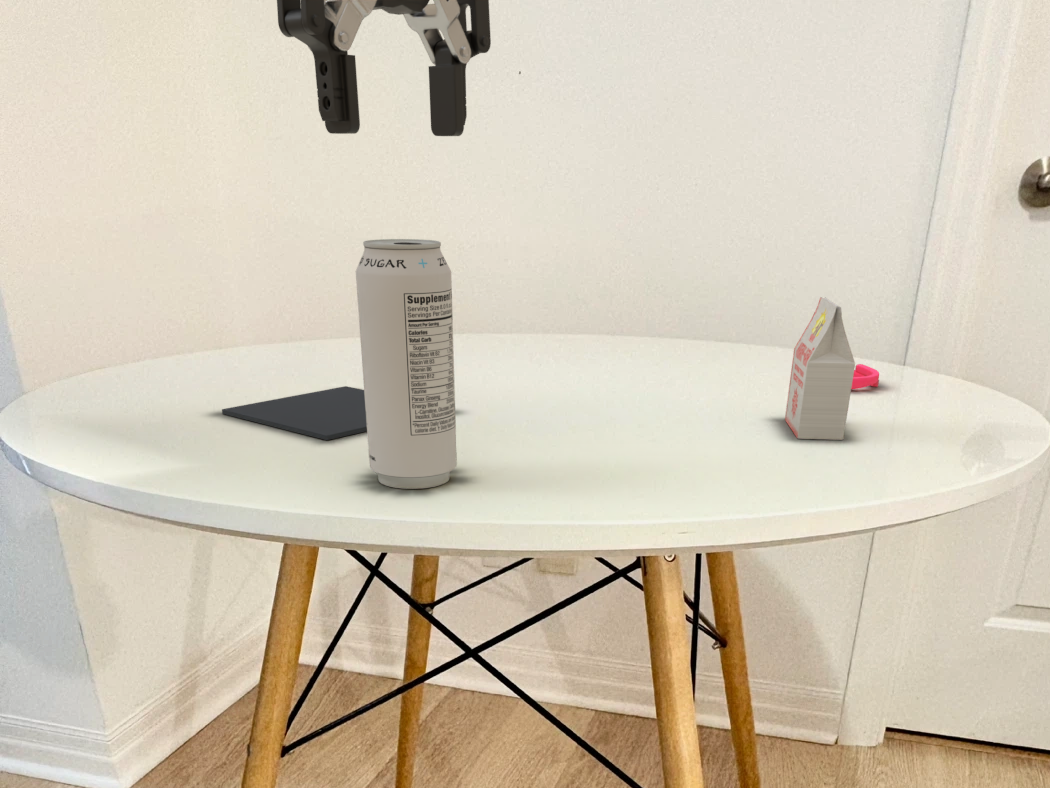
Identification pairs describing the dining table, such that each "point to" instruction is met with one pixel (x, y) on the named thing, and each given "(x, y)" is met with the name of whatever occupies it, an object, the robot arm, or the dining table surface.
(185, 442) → the dining table surface
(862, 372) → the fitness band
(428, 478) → the energy drink can
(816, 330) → the milk carton
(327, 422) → the slate mat
